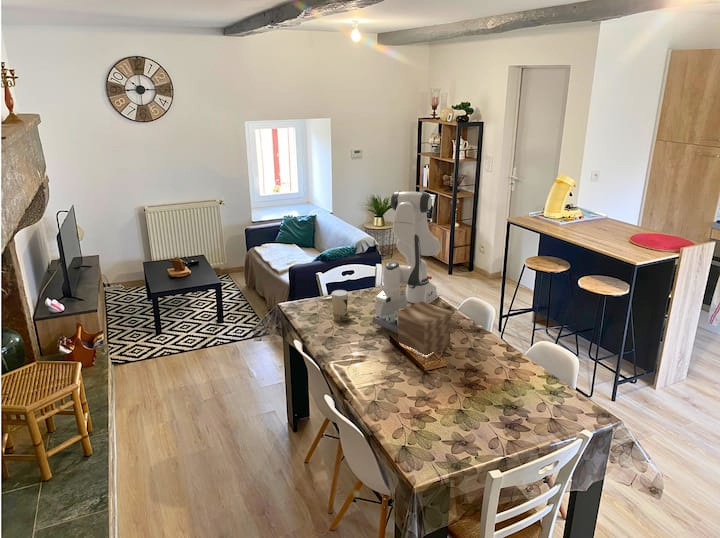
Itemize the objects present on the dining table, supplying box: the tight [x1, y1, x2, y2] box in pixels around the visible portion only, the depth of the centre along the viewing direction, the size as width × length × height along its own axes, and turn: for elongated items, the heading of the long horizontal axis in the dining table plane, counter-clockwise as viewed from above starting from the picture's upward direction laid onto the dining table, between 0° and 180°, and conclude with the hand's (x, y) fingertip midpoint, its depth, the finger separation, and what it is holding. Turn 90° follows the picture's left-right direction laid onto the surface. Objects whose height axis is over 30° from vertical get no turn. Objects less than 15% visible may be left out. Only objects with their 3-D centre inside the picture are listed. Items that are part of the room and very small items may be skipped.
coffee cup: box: [330, 289, 349, 316], centre depth 307 cm, size 9×9×12 cm
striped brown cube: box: [396, 301, 453, 355], centre depth 268 cm, size 19×19×18 cm
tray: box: [372, 311, 398, 334], centre depth 283 cm, size 6×20×8 cm, turn 43°
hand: (391, 319), depth 283 cm, fingers closed on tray, 4 cm apart
